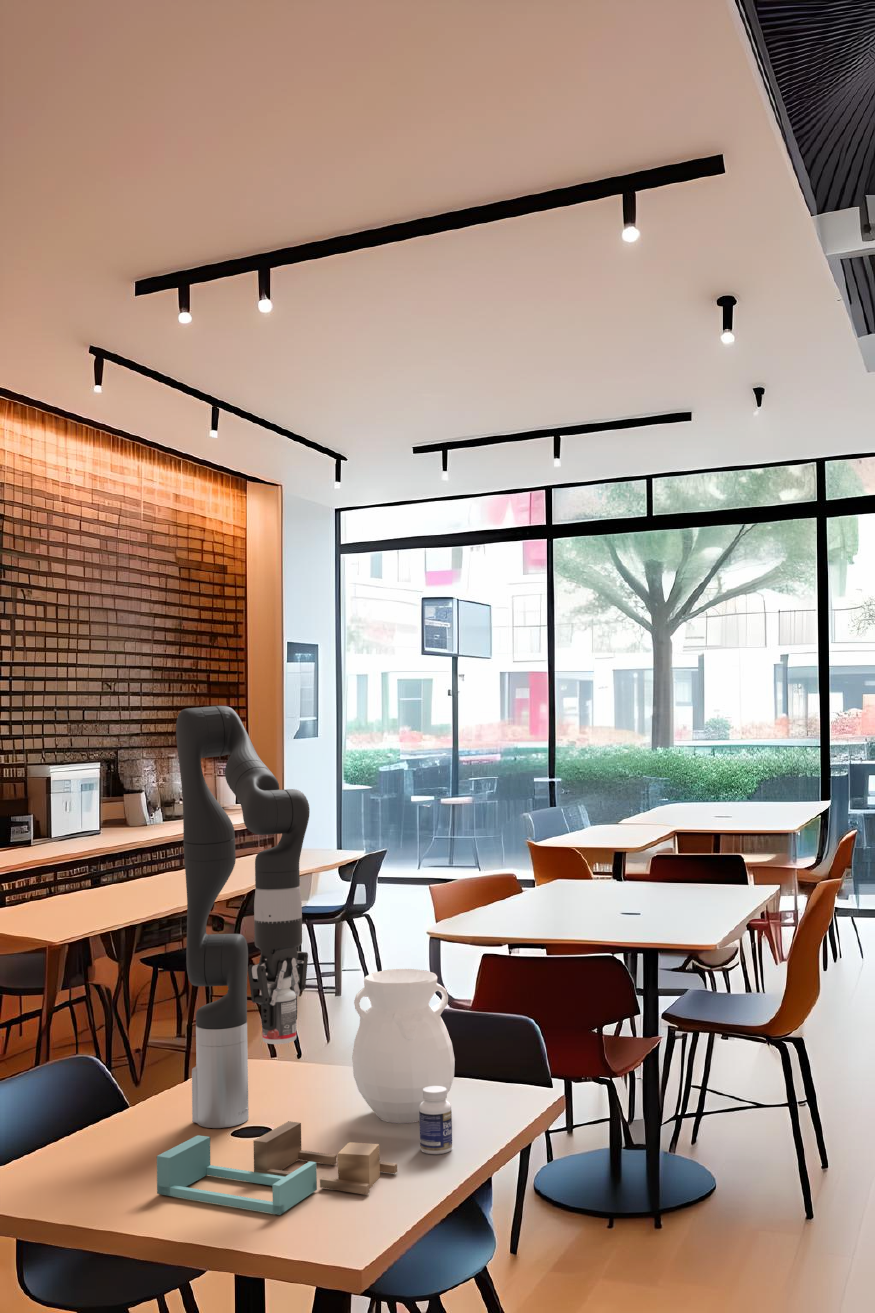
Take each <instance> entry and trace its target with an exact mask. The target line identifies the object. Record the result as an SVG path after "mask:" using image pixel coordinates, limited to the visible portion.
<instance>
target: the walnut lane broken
mask: <svg viewBox="0 0 875 1313" xmlns="http://www.w3.org/2000/svg"><path fill="white" fill-rule="evenodd" d="M252 1144H253V1172H258V1173H265V1174H271V1175H278V1176H284V1177H285V1176H287V1175H289V1174H290V1173H292V1172H293V1171H287V1170H284V1169H286V1168H287V1167H289V1166H291V1165H292V1164H293V1163H296V1162H297V1161H304V1162H309V1161H311V1162H316V1164H317V1163H318V1164H325V1165H330V1166H331V1165H332V1166H334V1165H336V1164H338V1154H332V1153H325V1152H324V1153H323V1152H317V1151H313V1150H312V1151H310V1150H304V1149H302V1122H299V1121H298V1122H297V1121H287V1122H284V1123H283V1124H280V1125H279V1126H277V1127H275V1128H273V1129H272V1130H269V1131H268V1132H266V1133H265V1134H263V1135H261V1136H259V1137H257V1138H256V1139H254V1140H253V1143H252ZM380 1173H385V1174H386V1173H387V1174H396V1173H398V1163H395V1162H388V1161H382V1160H380ZM319 1188H322V1189H328V1190H334V1191H339V1192H340V1191H341V1192H347V1193H353V1194H359V1195H368V1194H369V1193H370V1189H371V1188H369V1184H366V1183H360V1182H353V1181H347V1180H340V1179H338V1178H333V1177H326V1176H322V1177H321V1178H320V1179H319Z"/></svg>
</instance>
